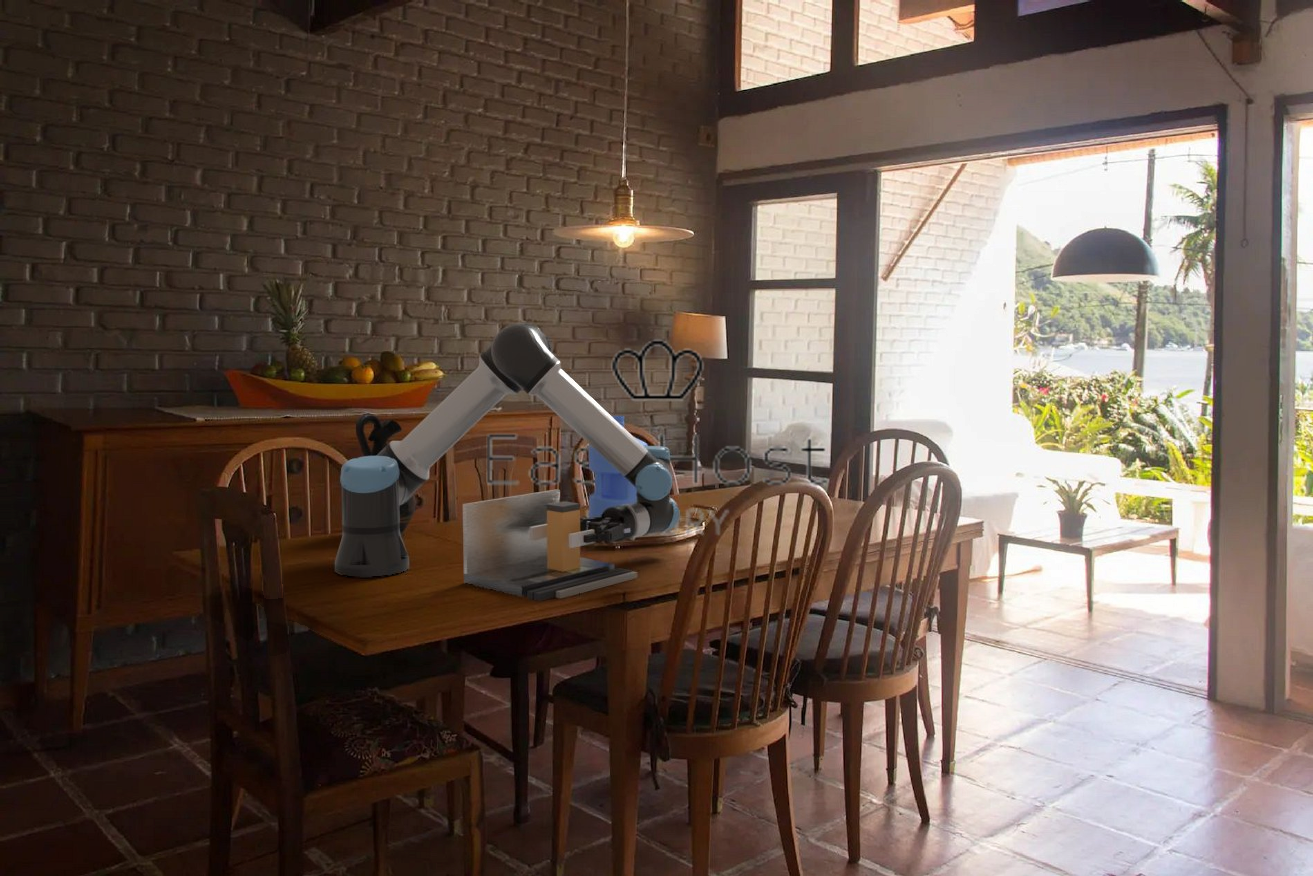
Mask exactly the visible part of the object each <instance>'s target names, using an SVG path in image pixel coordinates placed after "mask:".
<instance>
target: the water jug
mask: <svg viewBox="0 0 1313 876" xmlns="http://www.w3.org/2000/svg"><path fill="white" fill-rule="evenodd" d="M612 417H613V418H614V419H615V420H616V421H617V422H618V423H619V424H620V425H621V426H622V427H624V428H625V416H623V415H617V416H616V415H614V416H612ZM633 437H634V438H635V439H636V440H637V441H638V442H640V443H641V444H642V445H643V446H649V445H648V443H646V442H644V441H643V440H641V439H639V438H637V437H635V436H633ZM588 470H590V471H591V472H593V473H594V492H593V493H591V494H590V495H589V496H588V497H589V498H588V500H589V501H588V502H589V503H588V508H589V509H588V511H589V512H588V518H593V517H595V516H601V515H602V513H603V512H604V511H605V510H606V509H607V508H609V507H615V506H621V505H624V504H629V503H636V493H637V489H636V487H635V486H634V485H632V484H631V483H630V482H629V481H628V480H627V479H626V478H625V477H624V476H623V475H622V474H621V473H620V472H619V471H618V470H617V469H616V468H615V467H613V466H612V465H611V464H610V463H609V462H608V461H607V460H606V459H605V458H604V457H603V456H602V455H600V454H599V453H598V452H597V451H596V450H595V449H594V448H593V447H592V446H591V445H590V444H589V446H588Z"/></svg>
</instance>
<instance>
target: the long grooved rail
mask: <svg viewBox="0 0 1313 876" xmlns="http://www.w3.org/2000/svg"><path fill="white" fill-rule="evenodd" d="M635 579H638V572H637V571H632V569H628V568H627V569H625V568H623V567H619V568H615V569H614V570H610V571H606V572H602V573H598V574H594V575H590V576H586V577H582V578H578V579H574V580H570V581H566V582H562V583H558V584H554V585H550V586H546V587H542V588H538V589H534V590H530V591H527V596H526V597H527V598H528V599H527V600H531V601H536V602H542V601H545V600H549V599H552V598H556V599H563V598H564V599H565V598H569V597H572V596H575V595H579V593H580V594H583V593H586V592H589V591H590V592H591V591H594V590H597V589H598V590H599V589H602V588H605V587H609V586H612V585H613V586H614V585H617V584H620V583H623V582H624V583H625V582H628V581H632V580H635Z"/></svg>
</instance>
